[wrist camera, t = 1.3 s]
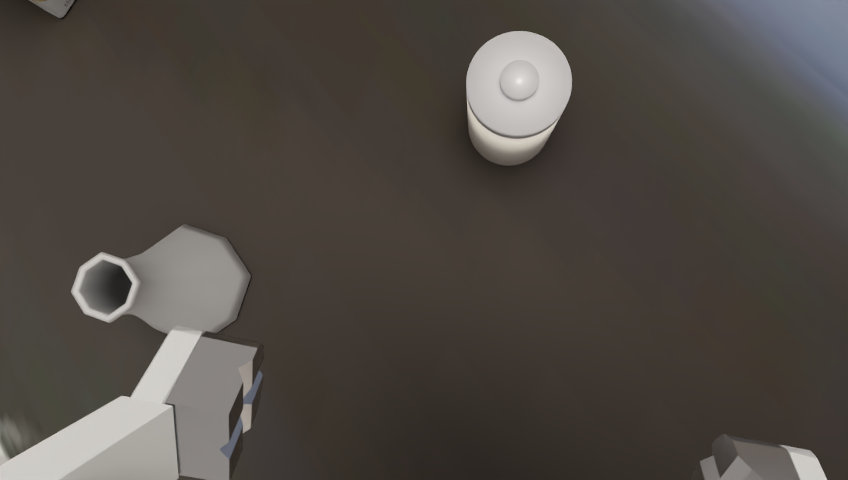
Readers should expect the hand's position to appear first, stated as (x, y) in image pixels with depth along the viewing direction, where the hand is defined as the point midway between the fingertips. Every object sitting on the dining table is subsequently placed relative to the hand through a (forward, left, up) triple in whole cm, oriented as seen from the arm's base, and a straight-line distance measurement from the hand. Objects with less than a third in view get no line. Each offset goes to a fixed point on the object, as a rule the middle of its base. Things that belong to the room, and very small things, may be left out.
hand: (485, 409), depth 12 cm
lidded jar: (-8, -9, -28) cm, 31 cm away
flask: (+14, -11, -28) cm, 34 cm away
